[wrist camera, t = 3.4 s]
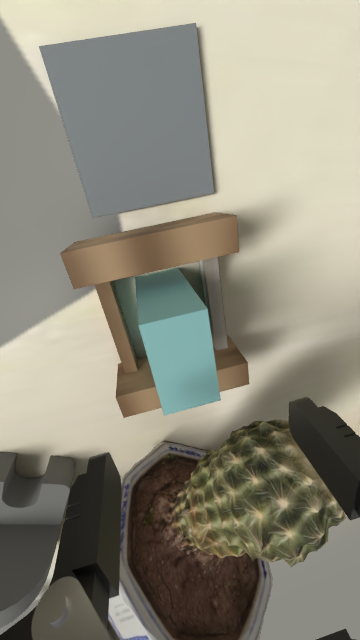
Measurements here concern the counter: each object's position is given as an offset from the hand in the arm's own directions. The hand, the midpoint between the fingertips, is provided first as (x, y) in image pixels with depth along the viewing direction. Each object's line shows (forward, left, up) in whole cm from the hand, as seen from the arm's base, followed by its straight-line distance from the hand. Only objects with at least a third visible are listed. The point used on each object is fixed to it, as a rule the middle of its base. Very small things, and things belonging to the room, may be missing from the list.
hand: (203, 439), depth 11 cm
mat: (-1, -14, -15) cm, 21 cm away
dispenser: (0, 0, -15) cm, 15 cm away
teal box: (0, 0, -15) cm, 15 cm away
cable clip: (+23, +22, -16) cm, 35 cm away
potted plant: (+1, +20, -16) cm, 25 cm away
